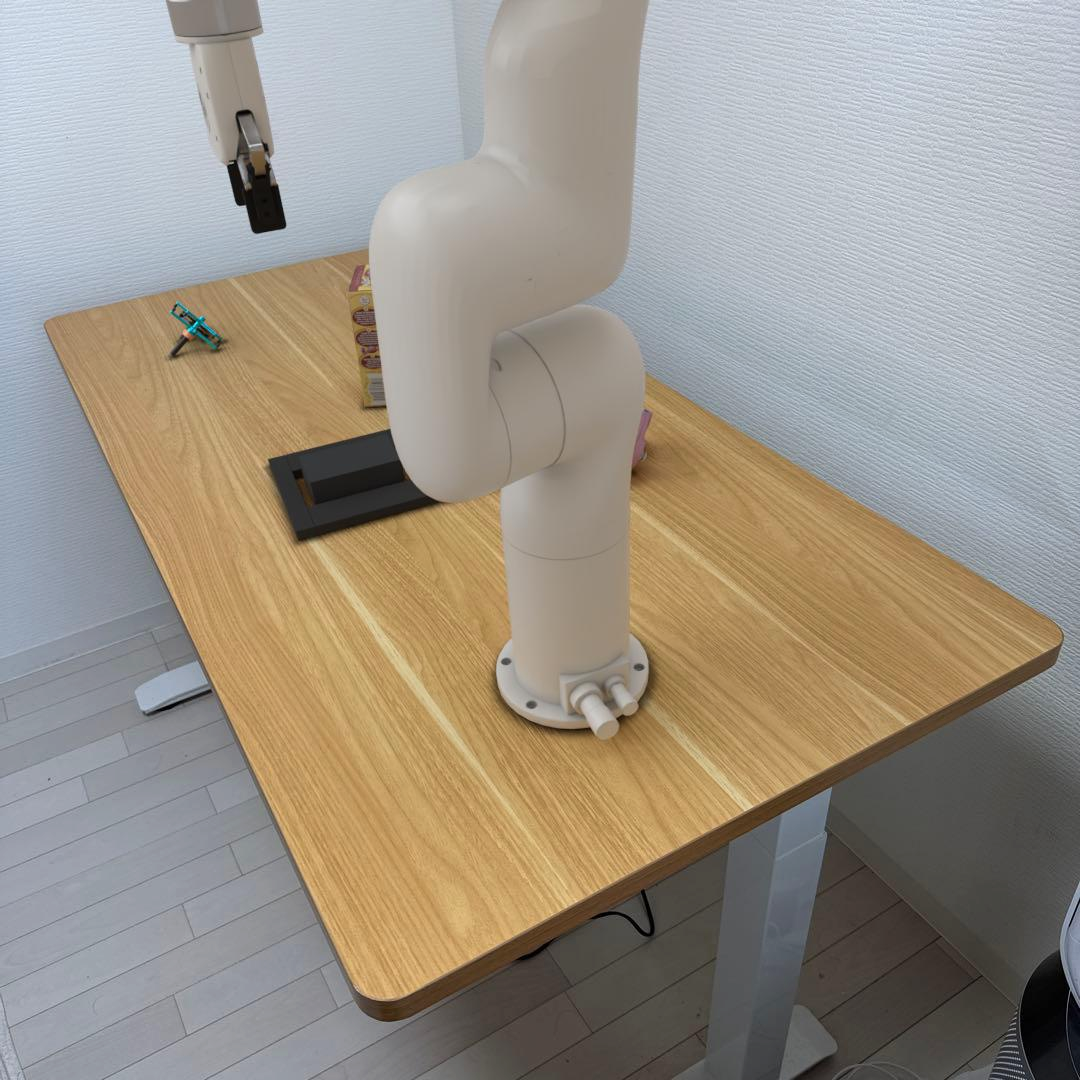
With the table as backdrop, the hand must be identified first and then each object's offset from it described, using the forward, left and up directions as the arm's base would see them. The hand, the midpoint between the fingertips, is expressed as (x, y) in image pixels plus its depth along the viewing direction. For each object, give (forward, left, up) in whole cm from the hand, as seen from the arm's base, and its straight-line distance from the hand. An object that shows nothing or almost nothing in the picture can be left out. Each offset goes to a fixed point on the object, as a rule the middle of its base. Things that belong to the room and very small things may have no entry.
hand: (260, 216), depth 93 cm
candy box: (+14, -12, -28) cm, 34 cm away
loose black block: (-6, -3, -28) cm, 29 cm away
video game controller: (-16, -31, -28) cm, 45 cm away
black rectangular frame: (-6, -6, -28) cm, 30 cm away
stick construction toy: (+42, +9, -28) cm, 52 cm away
